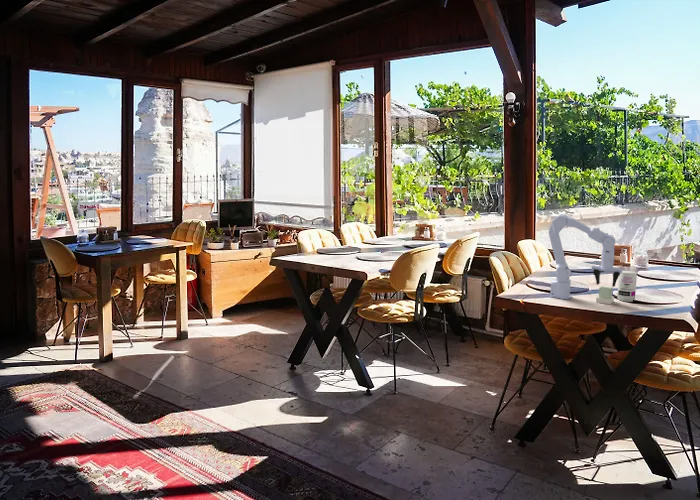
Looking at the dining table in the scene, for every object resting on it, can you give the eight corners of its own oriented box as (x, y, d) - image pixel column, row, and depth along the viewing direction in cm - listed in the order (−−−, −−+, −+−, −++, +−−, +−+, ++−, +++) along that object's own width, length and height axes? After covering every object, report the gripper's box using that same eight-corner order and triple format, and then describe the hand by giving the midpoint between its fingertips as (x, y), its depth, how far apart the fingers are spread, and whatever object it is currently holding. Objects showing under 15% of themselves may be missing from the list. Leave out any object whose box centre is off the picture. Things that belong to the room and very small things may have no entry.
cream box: (595, 303, 295) (596, 297, 294) (599, 300, 300) (599, 294, 300) (610, 305, 291) (610, 299, 290) (613, 302, 296) (613, 296, 296)
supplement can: (629, 298, 303) (631, 270, 300) (637, 302, 295) (639, 273, 292) (614, 298, 303) (616, 270, 300) (622, 302, 294) (624, 273, 292)
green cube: (598, 297, 295) (599, 287, 294) (601, 295, 298) (602, 286, 298) (608, 298, 291) (609, 289, 291) (611, 296, 295) (612, 287, 294)
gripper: (590, 258, 293) (588, 284, 296) (620, 261, 284) (618, 288, 286) (594, 256, 299) (593, 282, 301) (624, 259, 290) (622, 286, 292)
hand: (605, 285), depth 294 cm, fingers open, 7 cm apart
